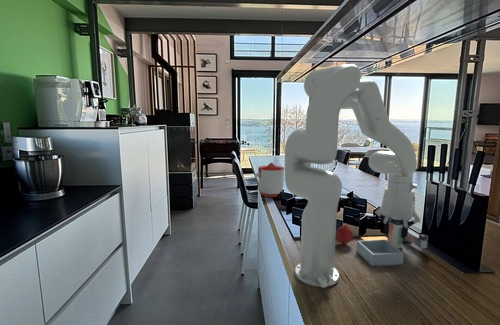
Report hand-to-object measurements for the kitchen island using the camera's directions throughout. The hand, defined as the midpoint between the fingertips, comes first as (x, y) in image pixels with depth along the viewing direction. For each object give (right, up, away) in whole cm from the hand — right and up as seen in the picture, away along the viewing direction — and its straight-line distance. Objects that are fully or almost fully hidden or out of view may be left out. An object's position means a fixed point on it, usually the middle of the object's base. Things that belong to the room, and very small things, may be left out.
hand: (395, 234), depth 101 cm
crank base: (0, -3, +7) cm, 8 cm away
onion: (-18, -4, +2) cm, 18 cm away
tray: (-10, -6, -8) cm, 14 cm away
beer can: (0, -5, +1) cm, 5 cm away
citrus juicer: (-40, +6, +69) cm, 80 cm away
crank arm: (+6, -2, +2) cm, 7 cm away
